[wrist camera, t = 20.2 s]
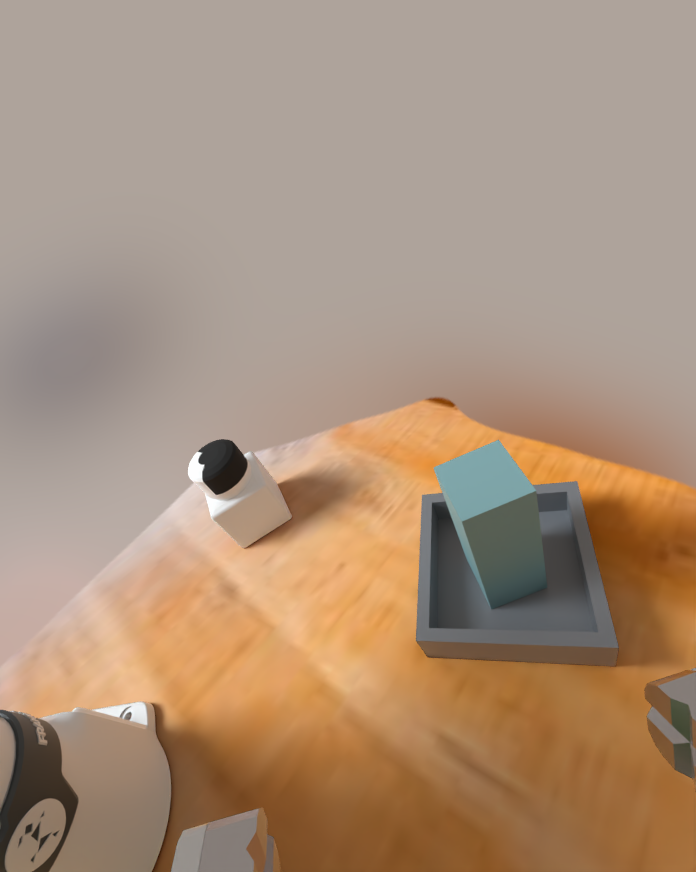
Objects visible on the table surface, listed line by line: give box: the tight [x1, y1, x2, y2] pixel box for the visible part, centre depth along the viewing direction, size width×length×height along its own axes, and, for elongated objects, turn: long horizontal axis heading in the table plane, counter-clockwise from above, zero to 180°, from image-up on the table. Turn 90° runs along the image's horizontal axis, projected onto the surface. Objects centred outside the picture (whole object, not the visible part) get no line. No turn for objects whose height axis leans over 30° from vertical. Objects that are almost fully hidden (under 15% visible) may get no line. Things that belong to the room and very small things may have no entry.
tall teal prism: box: [434, 440, 547, 610], centre depth 34 cm, size 5×5×14 cm
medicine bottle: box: [188, 439, 292, 548], centre depth 51 cm, size 7×7×12 cm
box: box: [416, 481, 619, 666], centre depth 38 cm, size 14×14×4 cm
